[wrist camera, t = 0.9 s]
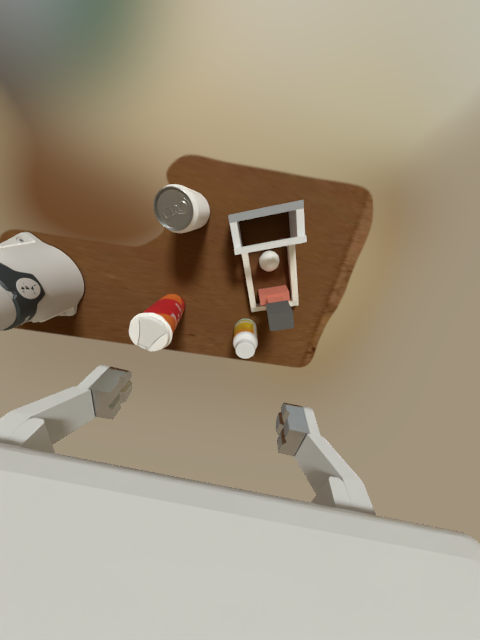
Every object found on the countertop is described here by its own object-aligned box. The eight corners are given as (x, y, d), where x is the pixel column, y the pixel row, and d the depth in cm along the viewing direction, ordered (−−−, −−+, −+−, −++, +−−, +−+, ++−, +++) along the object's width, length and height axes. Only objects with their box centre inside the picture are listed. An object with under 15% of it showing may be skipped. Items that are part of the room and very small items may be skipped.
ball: (260, 270, 45) (261, 275, 41) (257, 251, 43) (258, 254, 40) (278, 267, 45) (281, 271, 41) (277, 247, 43) (279, 250, 39)
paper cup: (181, 324, 52) (160, 360, 39) (152, 309, 50) (120, 341, 38) (195, 299, 49) (177, 329, 36) (164, 282, 47) (134, 307, 34)
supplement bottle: (230, 325, 51) (226, 348, 43) (248, 313, 50) (248, 335, 41) (243, 340, 53) (242, 365, 44) (260, 330, 52) (263, 353, 43)
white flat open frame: (251, 308, 49) (251, 312, 47) (241, 249, 43) (241, 251, 41) (296, 301, 48) (298, 305, 46) (292, 240, 42) (294, 241, 40)
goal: (237, 248, 43) (235, 255, 36) (231, 214, 40) (227, 215, 33) (296, 237, 42) (306, 242, 35) (294, 201, 39) (305, 199, 32)
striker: (260, 301, 48) (264, 331, 36) (258, 289, 46) (261, 316, 34) (286, 297, 47) (300, 327, 35) (285, 284, 46) (299, 310, 34)
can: (215, 222, 41) (203, 225, 30) (185, 233, 42) (164, 240, 32) (201, 185, 38) (183, 174, 28) (170, 198, 40) (141, 193, 29)
